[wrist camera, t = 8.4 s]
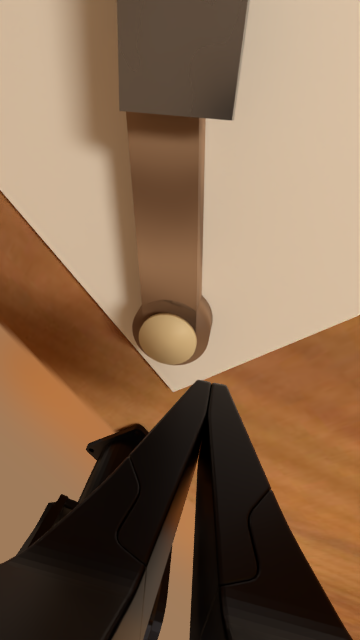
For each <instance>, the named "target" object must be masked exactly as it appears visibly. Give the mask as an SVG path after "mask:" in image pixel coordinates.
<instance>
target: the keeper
mask: <svg viewBox="0 0 360 640" xmlns="http://www.w3.org/2000/svg"><path fill="white" fill-rule="evenodd" d="M249 4H250V0H117V25H118V72H119V111H126V112H138V113H149V114H161V115H173V116H184V117H196V118H208V119H219V120H231V121H233V120H234V116H235V108H236V101H237V93H238V86H239V79H240V71H241V64H242V56H243V49H244V41H245V34H246V27H247V19H248V12H249Z"/></svg>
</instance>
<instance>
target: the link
mask: <svg viewBox="0 0 360 640" xmlns="http://www.w3.org/2000/svg"><path fill="white" fill-rule="evenodd" d="M126 119H127V131H128V143H129V156H130V168H131V180H132V192H133V204H134V216H135V228H136V240H137V252H138V265H139V277H140V289H141V301H142V305H141V307H140V308H139V310H138V312H137V313H136V315H135V317H134V320H133V324H132V332H133V336H134V339H135V341H136V343H137V345H138V347H139V348H140V349H141V350H142V351H143V349H142V347H141V345H140V342H139V331H140V328H141V327H142V325H143V323H144V322H145V321H146V320H147V319H148V318H149V317H151V316H153V315H155V314H160V313H169V314H174V315H177V316H179V317H181V318H183V319H184V320H186V321H187V322H188V323H189V324H190V325H191V326H192V328H193V329H194V331H195V333H196V337H197V345H196V349H195V352H194V354H193V355H192V356H191V358H190V359H188V360H187V361H185V362H183V363H180V364H175V365H185V364H188V363H191V362H193V361H195V360H197V359H198V358H199V357H200V356H201V355H202V354H203V353H204V351H205V350H206V348H207V345H208V341H209V337H210V332H211V327H212V321H213V315H212V310H211V308H210V305H209V303H208V302H207V300H206V299H205V298H204V297H203V296H202V258H203V214H204V170H205V126H206V118H196V117H184V116H173V115H161V114H149V113H138V112H126ZM143 352H144V351H143ZM144 353H145V352H144ZM145 354H146V353H145ZM146 355H147V354H146ZM147 356H148V355H147ZM148 357H149V356H148ZM167 365H168V364H167Z"/></svg>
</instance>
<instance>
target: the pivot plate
mask: <svg viewBox="0 0 360 640" xmlns="http://www.w3.org/2000/svg"><path fill="white" fill-rule="evenodd" d="M0 190H1V191H2V193H3V194H4V195H5V196H6V197H7V198H8V200H9V201H10V202H11V203H12V204H13V205H14V207H15V208H16V209H17V210H18V211H19V212H20V214H21V215H22V216H23V217H24V218H25V219H26V221H27V222H28V223H29V224H30V225H31V226H32V228H33V229H34V230H35V231H36V232H37V234H38V235H39V236H40V237H41V238H42V239H43V241H44V242H45V243H46V244H47V245H48V246H49V248H50V249H51V250H52V251H53V252H54V253H55V255H56V256H57V257H58V258H59V259H60V260H61V262H62V263H63V264H64V265H65V266H66V267H67V269H68V270H69V271H70V272H71V273H72V274H73V276H74V277H75V278H76V279H77V280H78V281H79V283H80V284H81V285H82V286H83V287H84V288H85V290H86V291H87V292H88V293H89V294H90V295H91V297H92V298H93V299H94V300H95V301H96V302H97V304H98V305H99V306H100V307H101V308H102V309H103V311H104V312H105V313H106V314H107V315H108V316H109V318H110V319H111V320H112V321H113V322H114V324H115V325H116V326H117V327H118V328H119V329H120V331H121V332H122V333H123V334H124V335H125V336H126V338H127V339H128V340H129V341H130V342H131V343H132V345H133V346H134V347H135V348H136V349H137V350H138V352H139V353H140V354H141V355H142V356H143V357H144V359H145V360H146V361H147V362H148V363H149V364H150V366H151V367H152V368H153V369H154V370H155V371H156V373H157V374H158V375H159V376H160V377H161V378H162V380H163V381H164V382H165V383H166V384H167V385H168V387H169V388H170V389H171V390H172V391H173V392H175V391H177V390H180V389H182V388H185V387H187V386H189V385H192V384H194V383H195V381H197V380H204V379H206V378H209V377H211V376H214V375H216V374H218V373H221V372H223V371H226V370H228V369H231V368H233V367H235V366H238V365H240V364H243V363H245V362H247V361H250V360H252V359H255V358H257V357H259V356H262V355H264V354H267V353H269V352H272V351H274V350H276V349H279V348H281V347H284V346H286V345H288V344H291V343H293V342H296V341H298V340H301V339H303V338H305V337H308V336H310V335H313V334H315V333H317V332H320V331H322V330H325V329H327V328H329V327H332V326H334V325H337V324H339V323H342V322H344V321H346V320H349V319H351V318H354V317H356V316H358V315H360V0H250V4H249V12H248V19H247V27H246V34H245V41H244V49H243V56H242V64H241V71H240V79H239V86H238V93H237V101H236V108H235V116H234V120H233V121H231V120H219V119H208V118H206V126H205V170H204V214H203V258H202V296H203V297H204V298H205V299H206V300H207V302H208V303H209V305H210V308H211V310H212V315H213V321H212V327H211V332H210V337H209V341H208V345H207V348H206V350H205V351H204V353H203V354H202V355H201V356H200V357H199V358H198V359H197V360H195V361H193V362H191V363H188V364H185V365H175V364H180V363H183V362H185V361H187V360H188V359H190V358H191V356H192V355H193V354H194V352H195V349H196V345H197V337H196V333H195V331H194V329H193V328H192V326H191V325H190V324H189V323H188V322H187V321H186V320H184V319H183V318H181V317H179V316H177V315H174V314H169V313H160V314H155V315H153V316H151V317H149V318H148V319H147V320H146V321H145V322H144V323H143V325H142V327H141V328H140V331H139V342H140V345H141V347H142V349H143V351H144V352H145V353H146V354H147V355H148V356H149V357H148V356H147V355H146V354H145V353H144V352H143V351H142V350H141V349H140V348H139V347H138V345H137V343H136V341H135V339H134V336H133V332H132V324H133V320H134V317H135V315H136V313H137V312H138V310H139V308H140V307H141V305H142V301H141V289H140V277H139V265H138V252H137V240H136V228H135V216H134V204H133V192H132V180H131V168H130V156H129V143H128V131H127V119H126V111H119V72H118V25H117V0H0ZM167 364H168V365H167Z"/></svg>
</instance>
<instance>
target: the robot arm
mask: <svg viewBox="0 0 360 640" xmlns="http://www.w3.org/2000/svg"><path fill="white" fill-rule="evenodd" d="M86 450H87V452H88V453H89V454H91V455H92V456H93V457H94V458H95V459H96V460H97V462H96V464H95V466H94V469H93V470H92V472H91V475H90V477H89V479H88V481H87V483H86V485H85V488H84V490H83V492H82V494H81V496H80V499H79V501H78V502H76V501H74V500H71V499H69V498H68V497H67V496H65V495H63V494H61V495H60V497H59V499H58V501H56V502H52V503H48V505H47V507H46V509H45V511H44V512H43V514H42V516H41V518H40V520H39V522H38V523H37V525H36V527H35V528H34V530H33V532H32V533H31V534H30V536H29V537H28V539H27V540H26V542H25V543H24V545H23V546H22V548H21V549H20V551H19V552H18V554H17V555H16V556H15V557H13V558H11V559H9V560H8V561H6V562H4V563H2V564H0V640H157V639H158V636H159V633H160V629H161V626H162V622H163V617H164V613H165V608H166V601H167V593H168V582H169V573H170V562H171V553H172V543H173V540H174V537H175V533H176V530H177V527H178V523H179V520H180V517H181V514H182V510H183V507H184V504H185V500H186V497H187V494H188V491H189V487H190V484H191V481H192V478H193V474H194V471H195V468H196V464H197V460H198V469H197V491H196V514H195V534H194V556H193V577H192V578H193V579H192V599H191V621H190V640H353V639H352V638H351V636H350V635H349V633H348V631H347V630H346V628H345V627H344V625H343V623H342V621H341V620H340V618H339V616H338V615H337V613H336V611H335V609H334V607H333V606H332V604H331V602H330V600H329V599H328V597H327V595H326V593H325V592H324V590H323V588H322V586H321V584H320V583H319V581H318V579H317V577H316V576H315V574H314V572H313V570H312V568H311V567H310V565H309V563H308V561H307V560H306V558H305V556H304V554H303V552H302V551H301V549H300V547H299V545H298V543H297V541H296V539H295V538H294V536H293V534H292V532H291V530H290V528H289V526H288V524H287V522H286V520H285V518H284V515H283V513H282V511H281V509H280V507H279V505H278V502H277V500H276V498H275V496H274V493H273V491H272V490H271V487H270V484H269V482H268V480H267V477H266V475H265V473H264V471H263V468H262V466H261V464H260V461H259V459H258V457H257V454H256V452H255V450H254V448H253V445H252V443H251V441H250V438H249V436H248V434H247V431H246V429H245V427H244V425H243V422H242V420H241V418H240V415H239V413H238V411H237V408H236V406H235V404H234V401H233V399H232V397H231V395H230V392H229V390H228V388H227V386H226V385H223V384H218V383H212V385H211V383H210V382H208V381H203V380H197V381H195V383H194V384H193V385H192V386H191V387H190V388H189V389H188V390H187V391H186V392H185V394H184V395H183V396H182V397H181V398H180V399H179V400H178V401H177V402H176V404H175V405H174V406H173V407H172V408H171V409H170V410H169V411H168V412H167V413H166V415H165V416H164V417H163V418H162V419H161V420H160V421H159V422H158V423H157V425H156V426H155V427H154V428H153V429H152V430H151V431H150V432H149V433H148V431H147V430H146V429H145V428H144V427H142V426H140V425H136V426H133V427H130V428H128V429H125V430H122V431H120V432H117V433H115V434H112V435H109V436H107V437H104V438H102V439H99V440H96V441H94V442H91V443H89V444H88V446H87V448H86ZM199 450H200V451H199ZM198 455H199V458H198Z"/></svg>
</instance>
